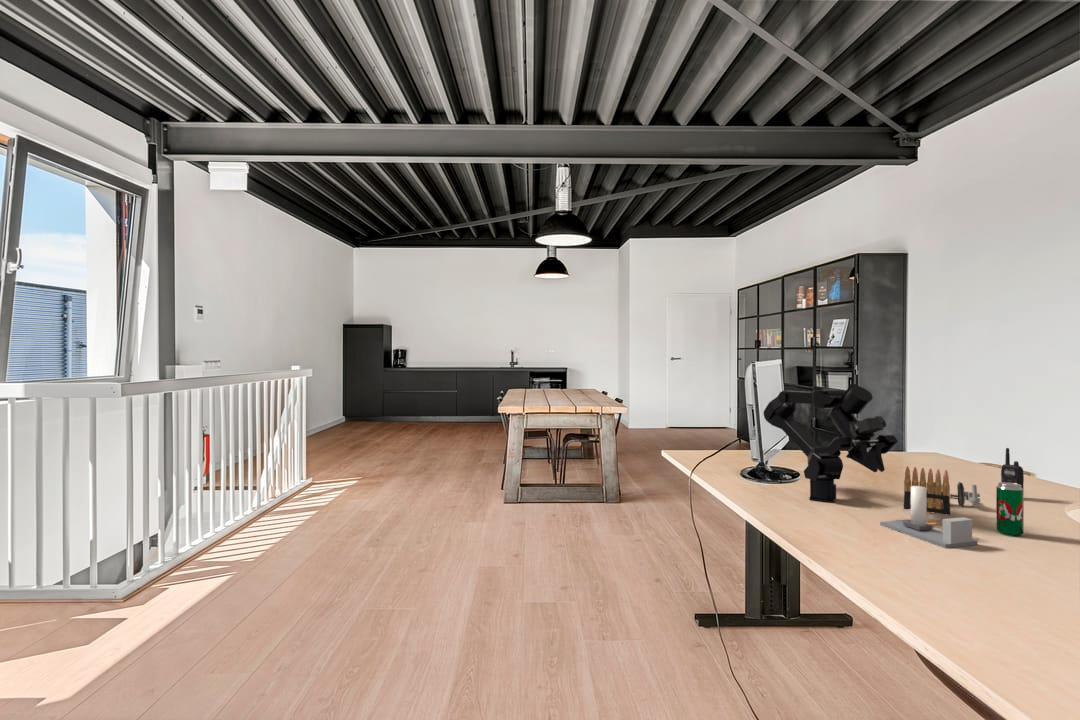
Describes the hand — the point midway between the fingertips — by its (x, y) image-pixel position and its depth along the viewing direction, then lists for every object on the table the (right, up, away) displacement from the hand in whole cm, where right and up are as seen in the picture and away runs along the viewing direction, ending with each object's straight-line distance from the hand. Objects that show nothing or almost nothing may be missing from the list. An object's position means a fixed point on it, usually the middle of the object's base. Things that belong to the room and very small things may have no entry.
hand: (879, 471), depth 150 cm
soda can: (+24, -13, -13) cm, 30 cm away
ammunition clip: (+17, -13, +7) cm, 23 cm away
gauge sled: (+4, -11, -11) cm, 16 cm away
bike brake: (+31, -13, +18) cm, 38 cm away
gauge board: (+3, -13, -13) cm, 19 cm away
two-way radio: (+53, -12, +21) cm, 58 cm away
